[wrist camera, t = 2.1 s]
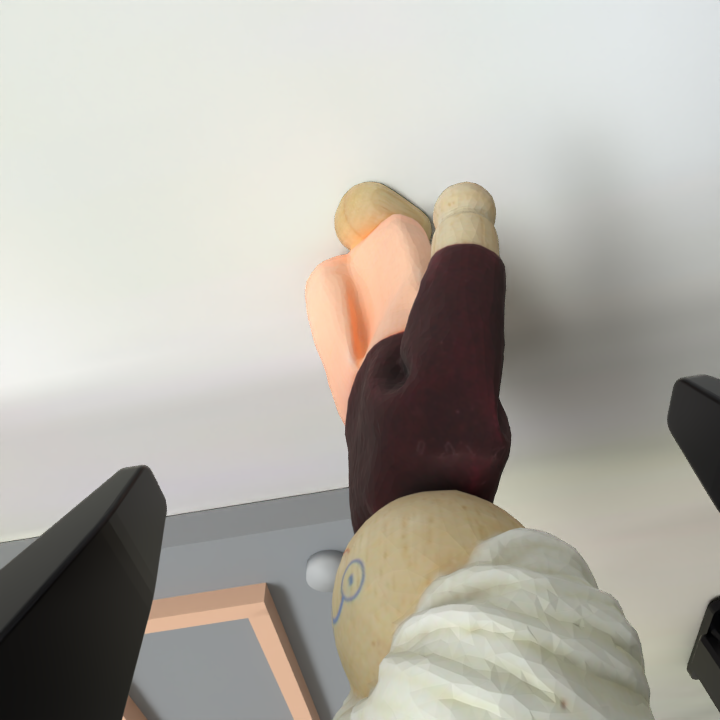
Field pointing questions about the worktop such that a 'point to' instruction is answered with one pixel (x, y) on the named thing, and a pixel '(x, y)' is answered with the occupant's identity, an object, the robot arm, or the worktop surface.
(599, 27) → the worktop surface
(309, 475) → the worktop surface
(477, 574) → the grandmother figurine
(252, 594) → the base plate
